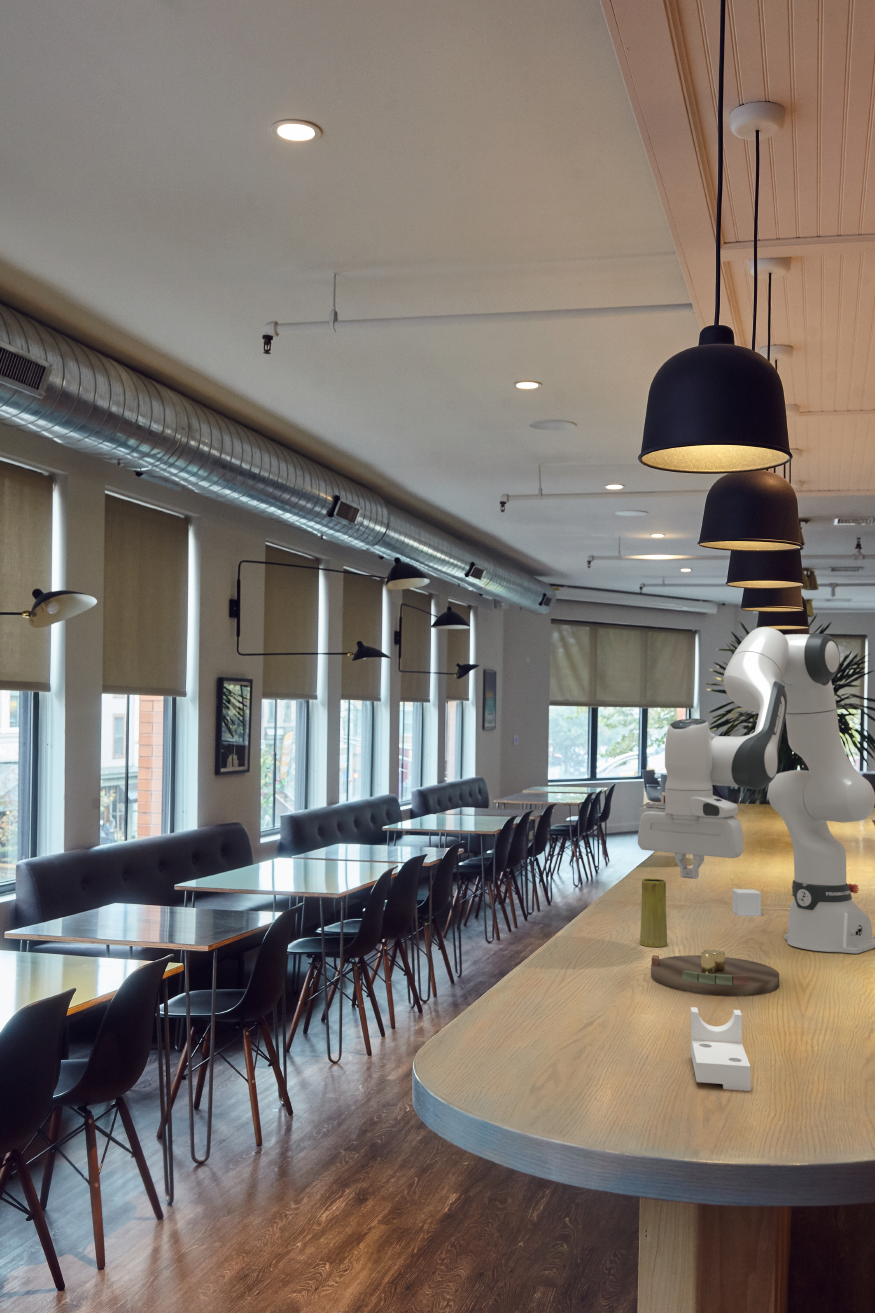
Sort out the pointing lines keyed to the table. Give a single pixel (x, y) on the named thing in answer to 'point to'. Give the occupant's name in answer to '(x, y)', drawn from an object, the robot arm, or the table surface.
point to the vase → (653, 913)
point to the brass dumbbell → (712, 961)
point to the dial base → (732, 967)
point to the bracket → (719, 1052)
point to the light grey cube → (746, 902)
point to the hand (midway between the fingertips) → (689, 878)
